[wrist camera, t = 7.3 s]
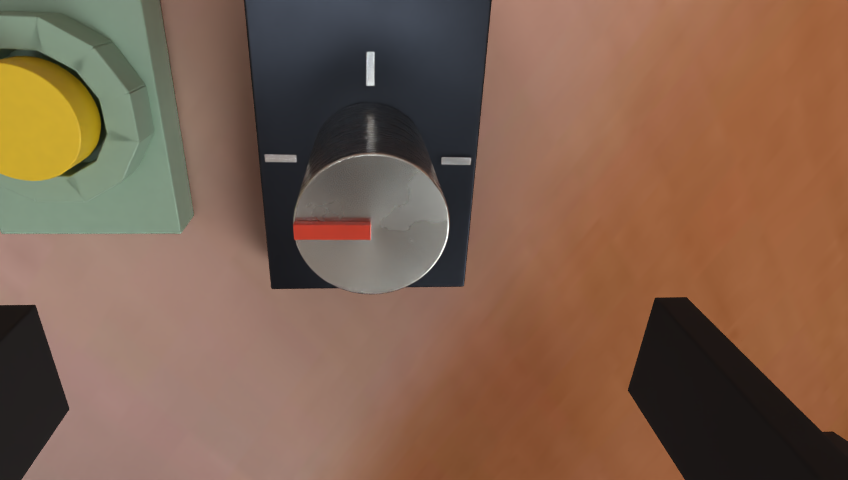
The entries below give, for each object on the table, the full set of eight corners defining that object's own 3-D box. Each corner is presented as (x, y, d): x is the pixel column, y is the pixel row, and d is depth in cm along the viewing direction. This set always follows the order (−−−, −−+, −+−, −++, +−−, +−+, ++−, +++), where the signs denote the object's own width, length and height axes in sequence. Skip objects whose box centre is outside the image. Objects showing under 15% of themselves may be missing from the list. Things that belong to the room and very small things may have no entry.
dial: (429, 103, 23) (457, 157, 16) (423, 211, 26) (445, 298, 19) (310, 99, 23) (286, 154, 16) (314, 210, 25) (296, 300, 18)
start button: (112, 167, 22) (93, 182, 20) (-2, 166, 22) (-30, 180, 20) (87, 57, 20) (64, 64, 19) (-39, 53, 20) (-73, 59, 18)
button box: (194, 215, 27) (169, 251, 24) (27, 215, 26) (-25, 252, 23) (152, -49, 22) (111, -54, 18) (-59, -61, 21) (-146, -69, 17)
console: (456, 264, 30) (464, 288, 28) (278, 265, 29) (270, 291, 27) (480, -5, 24) (493, -3, 21) (253, -17, 23) (241, -16, 20)
